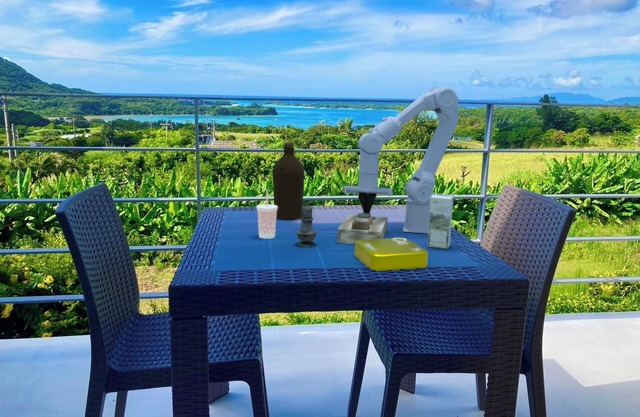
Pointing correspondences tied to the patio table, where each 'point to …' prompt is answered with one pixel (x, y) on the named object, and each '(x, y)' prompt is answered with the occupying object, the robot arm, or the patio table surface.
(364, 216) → the beige grey-dot cube
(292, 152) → the olive oil
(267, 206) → the beverage cup
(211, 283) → the patio table surface
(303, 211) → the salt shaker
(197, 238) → the patio table surface
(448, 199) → the syrup box
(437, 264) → the patio table surface
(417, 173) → the robot arm
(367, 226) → the cube with pale circle
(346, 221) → the grey square block
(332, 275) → the patio table surface
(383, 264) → the element tile
